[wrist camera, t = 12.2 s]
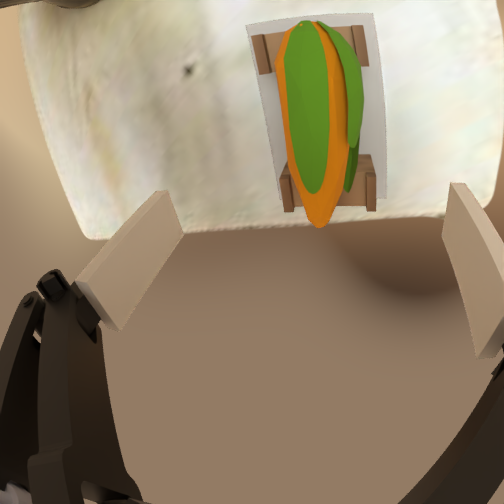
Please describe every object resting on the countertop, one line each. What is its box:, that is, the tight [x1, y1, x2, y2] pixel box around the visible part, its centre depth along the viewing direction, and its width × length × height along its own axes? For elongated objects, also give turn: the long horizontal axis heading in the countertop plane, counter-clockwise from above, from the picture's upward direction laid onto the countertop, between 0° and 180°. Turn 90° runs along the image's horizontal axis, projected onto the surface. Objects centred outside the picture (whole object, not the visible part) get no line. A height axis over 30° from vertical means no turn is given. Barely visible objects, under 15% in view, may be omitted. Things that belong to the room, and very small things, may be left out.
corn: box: [274, 20, 364, 228], centre depth 24 cm, size 7×8×20 cm
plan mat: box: [246, 13, 387, 200], centre depth 31 cm, size 14×23×1 cm, turn 11°
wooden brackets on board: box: [251, 25, 376, 212], centre depth 28 cm, size 10×19×7 cm, turn 11°
